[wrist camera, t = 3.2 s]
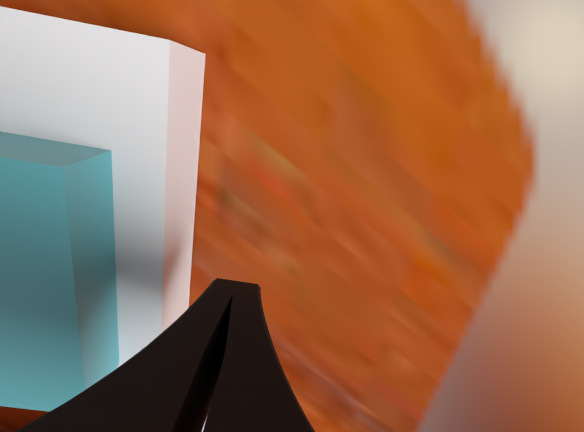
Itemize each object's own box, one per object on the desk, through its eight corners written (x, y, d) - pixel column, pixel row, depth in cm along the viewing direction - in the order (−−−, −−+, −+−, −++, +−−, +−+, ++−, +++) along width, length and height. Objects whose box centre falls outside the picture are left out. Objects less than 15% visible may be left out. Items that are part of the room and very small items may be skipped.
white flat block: (185, 355, 16) (158, 422, 13) (-64, 322, 15) (-160, 386, 12) (205, 54, 11) (169, 39, 8) (-171, -20, 10) (-388, -71, 7)
